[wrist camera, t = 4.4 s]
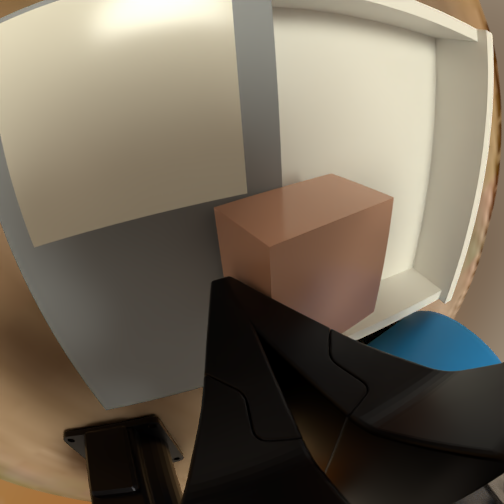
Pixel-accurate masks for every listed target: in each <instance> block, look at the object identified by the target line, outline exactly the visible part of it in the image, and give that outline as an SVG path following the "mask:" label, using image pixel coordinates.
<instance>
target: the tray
mask: <svg viewBox="0 0 504 504" xmlns="http://www.w3.org/2000/svg"><path fill="white" fill-rule="evenodd" d="M271 2H272V14H273V27H274V40H275V54H276V69H277V85H278V102H279V121H280V142H281V166H282V187H284V186H287V185H291V184H294V183H298V182H301V181H305V180H309V179H312V178H316V177H320V176H324V175H327V174H331V173H332V174H335V175H337V176H340V177H343V178H346V179H348V180H351V181H354V182H356V183H359V184H361V185H364V186H367V187H369V188H372V189H374V190H377V191H379V192H382V193H384V194H387V195H389V196H392V197H394V201H393V209H392V216H391V223H390V230H389V237H388V243H387V249H386V255H385V260H384V266H383V271H382V276H381V281H380V286H379V291H378V296H377V300H376V305H375V309H374V312H373V313H371V314H370V315H369V316H367V317H366V318H364V319H363V320H361V321H360V322H358V323H357V324H355V325H354V326H352V327H351V328H350V329H348V330H347V331H345V332H343V333H342V334H343V335H345V336H348V337H350V338H352V339H354V340H358V339H360V338H363V337H365V336H367V335H369V334H371V333H373V332H375V331H378V330H380V329H382V328H384V327H386V326H388V325H390V324H392V323H394V322H396V321H398V320H400V319H402V318H404V317H406V316H408V315H410V314H412V313H413V312H415V311H417V310H419V309H421V308H423V307H425V306H426V305H428V304H430V303H432V302H434V301H436V300H437V299H440V300H441V301H442V302H443V303H444V304H445V303H447V302H448V301H450V300H451V298H452V295H453V293H454V290H455V287H456V284H457V281H458V278H459V275H460V272H461V269H462V266H463V263H464V260H465V256H466V253H467V250H468V246H469V243H470V239H471V235H472V232H473V228H474V224H475V220H476V215H477V211H478V207H479V202H480V197H481V192H482V187H483V182H484V176H485V170H486V164H487V157H488V150H489V142H490V133H491V122H492V108H493V84H494V62H493V38H492V33H490V32H488V31H487V30H479V29H475V28H474V27H472V26H470V25H468V24H466V23H464V22H462V21H460V20H458V19H456V18H454V17H452V16H450V15H448V14H446V13H443V12H441V11H439V10H437V9H434V8H432V7H430V6H427V5H425V4H423V3H420V2H417V1H415V0H271Z"/></svg>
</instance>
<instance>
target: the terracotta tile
mask: <svg viewBox="0 0 504 504" xmlns="http://www.w3.org/2000/svg"><path fill="white" fill-rule="evenodd" d="M393 201H394V197H392V196H389V195H387V194H384V193H382V192H379V191H377V190H374V189H372V188H369V187H367V186H364V185H361V184H359V183H356V182H354V181H351V180H348V179H346V178H343V177H340V176H337V175H335V174H332V173H331V174H327V175H324V176H320V177H316V178H312V179H309V180H305V181H301V182H298V183H294V184H291V185H287V186H284V187H280V188H277V189H273V190H270V191H266V192H263V193H259V194H256V195H253V196H249V197H246V198H243V199H239V200H236V201H233V202H230V203H226V204H223V205H220V206H217V207H214V213H215V220H216V227H217V234H218V241H219V248H220V255H221V262H222V269H223V275H224V277H227V276H231V277H233V278H235V279H237V280H238V281H240V282H242V283H244V284H246V285H248V286H250V287H252V288H253V289H255V290H257V291H259V292H261V293H263V294H265V295H267V296H269V297H271V298H272V299H274V300H276V301H278V302H280V303H282V304H284V305H286V306H288V307H290V308H292V309H294V310H296V311H298V312H300V313H301V314H303V315H305V316H307V317H309V318H311V319H313V320H315V321H317V322H319V323H321V324H323V325H325V326H327V327H329V328H330V330H331V329H333V330H335V331H337V332H339V333H341V334H342V333H343V332H345V331H347V330H348V329H350V328H351V327H352V326H354V325H355V324H357V323H358V322H360V321H361V320H363V319H364V318H366V317H367V316H369V315H370V314H371V313H373V312H374V309H375V305H376V300H377V296H378V291H379V286H380V281H381V276H382V271H383V266H384V260H385V255H386V249H387V243H388V237H389V230H390V223H391V216H392V209H393Z"/></svg>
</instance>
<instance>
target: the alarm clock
mask: <svg viewBox="0 0 504 504" xmlns="http://www.w3.org/2000/svg"><path fill="white" fill-rule="evenodd" d="M397 322H398V323H396V324H395V325H394V326H392V327H391V328H389V329H388V330H387V331H385V332H384V333H383V334H381V335H380V336H378V337H377V338H376V339H374V340H373V341H371V342H370V343H369V344H367V345H368V346H370V347H373V348H376V349H378V350H381V351H383V352H386V353H389V354H392V355H394V356H397V357H400V358H403V359H406V360H409V361H412V362H415V363H417V364H420V365H423V366H426V367H430V368H433V369H437V370H443V371H460V370H467V369H473V368H478V367H484V366H489V365H494V364H499V363H501V361H500V360H499V359H498V357H497V356H496V355H495V354H494V352H493V351H492V350H491V349H490V348H489V347H488V346H487V345H486V344H485V343H484V342H483V341H482V340H481V339H480V338H479V337H477V336H476V335H475V334H474V333H473V332H471V331H470V330H469V329H467V328H466V327H465V326H463V325H462V324H460V323H458V322H457V321H455V320H453V319H451V318H449V317H447V316H445V315H442V314H439V313H436V312H431V311H416V312H413V313H412V314H410V315H408V316H406V317H404V318H402V319H400V320H398V321H397Z"/></svg>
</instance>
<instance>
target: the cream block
mask: <svg viewBox="0 0 504 504" xmlns="http://www.w3.org/2000/svg"><path fill="white" fill-rule="evenodd" d="M0 136H1V141H2V145H3V150H4V154H5V158H6V162H7V166H8V170H9V174H10V177H11V181H12V184H13V188H14V191H15V194H16V198H17V201H18V204H19V207H20V210H21V213H22V216H23V219H24V222H25V225H26V227H27V230H28V233H29V235H30V238H31V241H32V243H33V246H34V247H37V246H41V245H44V244H47V243H51V242H54V241H57V240H61V239H64V238H67V237H71V236H74V235H78V234H81V233H85V232H88V231H92V230H96V229H99V228H103V227H107V226H110V225H114V224H118V223H122V222H125V221H129V220H133V219H137V218H141V217H145V216H149V215H153V214H157V213H161V212H165V211H170V210H174V209H178V208H182V207H187V206H191V205H195V204H200V203H204V202H209V201H213V200H218V199H223V198H227V197H232V196H237V195H242V194H247V182H246V170H245V157H244V145H243V133H242V120H241V108H240V96H239V83H238V71H237V59H236V46H235V34H234V22H233V9H232V0H58V1H55V2H52V3H49V4H47V5H44V6H41V7H38V8H36V9H33V10H30V11H28V12H25V13H23V14H20V15H18V16H16V17H13V18H11V19H9V20H7V21H4V22H2V23H0Z"/></svg>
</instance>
